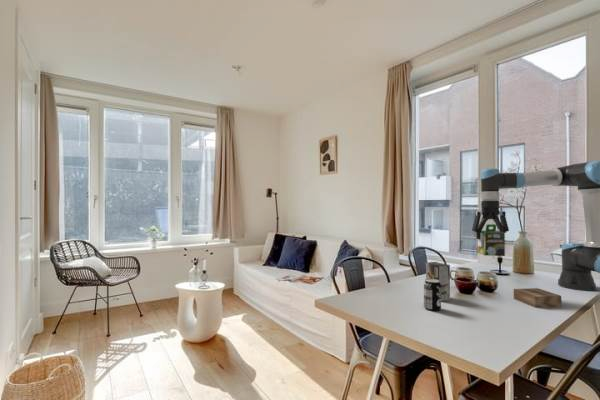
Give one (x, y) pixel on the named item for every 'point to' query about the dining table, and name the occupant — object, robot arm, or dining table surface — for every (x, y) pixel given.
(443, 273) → the coffee box
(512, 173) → the robot arm
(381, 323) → the dining table surface
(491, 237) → the chalk box
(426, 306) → the beverage can
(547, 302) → the walnut block
